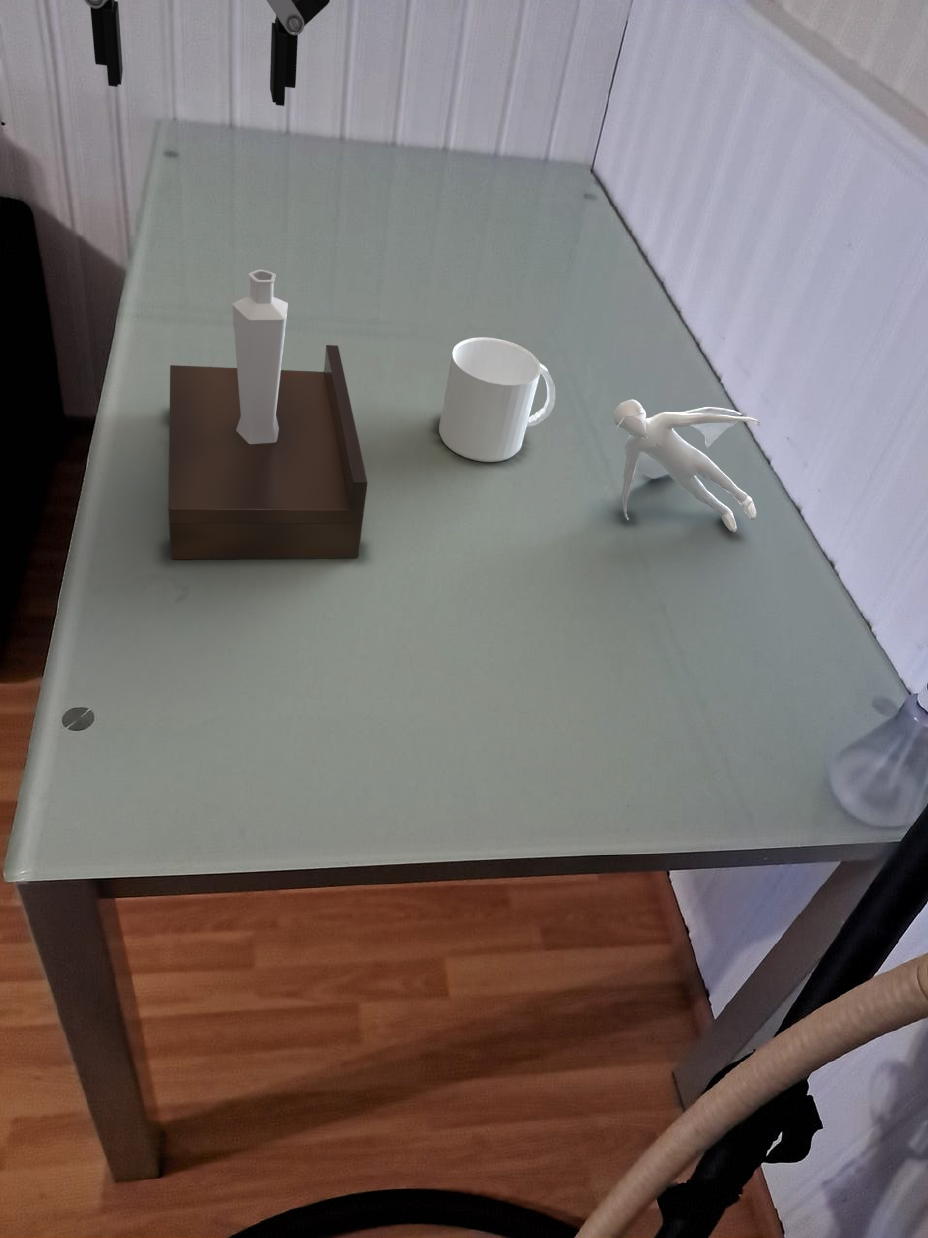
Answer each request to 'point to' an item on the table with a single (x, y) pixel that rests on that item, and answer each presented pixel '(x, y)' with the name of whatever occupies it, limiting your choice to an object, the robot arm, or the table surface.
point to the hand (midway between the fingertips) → (198, 88)
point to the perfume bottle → (259, 357)
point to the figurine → (679, 452)
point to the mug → (491, 398)
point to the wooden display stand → (264, 469)
